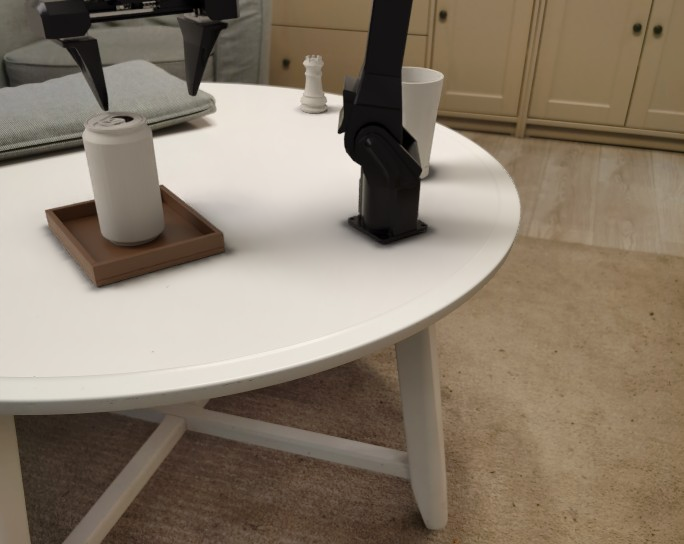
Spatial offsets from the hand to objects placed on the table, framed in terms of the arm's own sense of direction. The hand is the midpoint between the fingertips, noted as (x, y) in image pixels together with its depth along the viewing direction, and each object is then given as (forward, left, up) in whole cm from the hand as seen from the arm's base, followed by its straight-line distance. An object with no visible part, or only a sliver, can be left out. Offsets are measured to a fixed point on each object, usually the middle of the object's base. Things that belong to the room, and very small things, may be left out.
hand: (150, 102), depth 70 cm
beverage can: (-3, +5, -12) cm, 13 cm away
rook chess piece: (+27, -36, -13) cm, 47 cm away
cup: (-2, -31, -13) cm, 34 cm away
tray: (-2, +5, -13) cm, 14 cm away
